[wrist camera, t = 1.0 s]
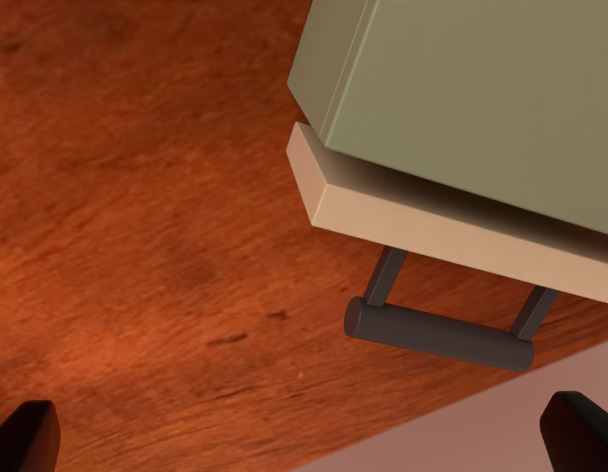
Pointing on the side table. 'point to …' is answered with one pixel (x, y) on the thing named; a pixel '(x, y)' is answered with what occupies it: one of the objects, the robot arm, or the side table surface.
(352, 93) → the cabinet
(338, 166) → the drawer
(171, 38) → the side table surface
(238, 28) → the side table surface
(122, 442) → the side table surface
